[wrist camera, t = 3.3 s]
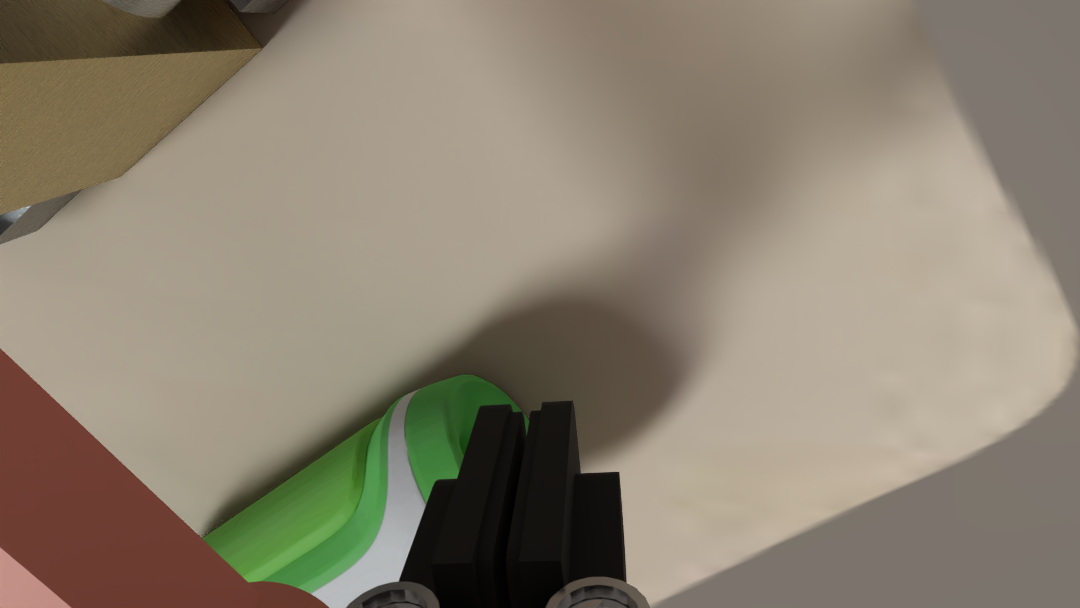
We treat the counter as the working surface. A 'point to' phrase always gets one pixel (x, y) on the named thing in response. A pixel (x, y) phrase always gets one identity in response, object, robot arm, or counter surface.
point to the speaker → (359, 498)
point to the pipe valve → (102, 89)
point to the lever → (98, 523)
